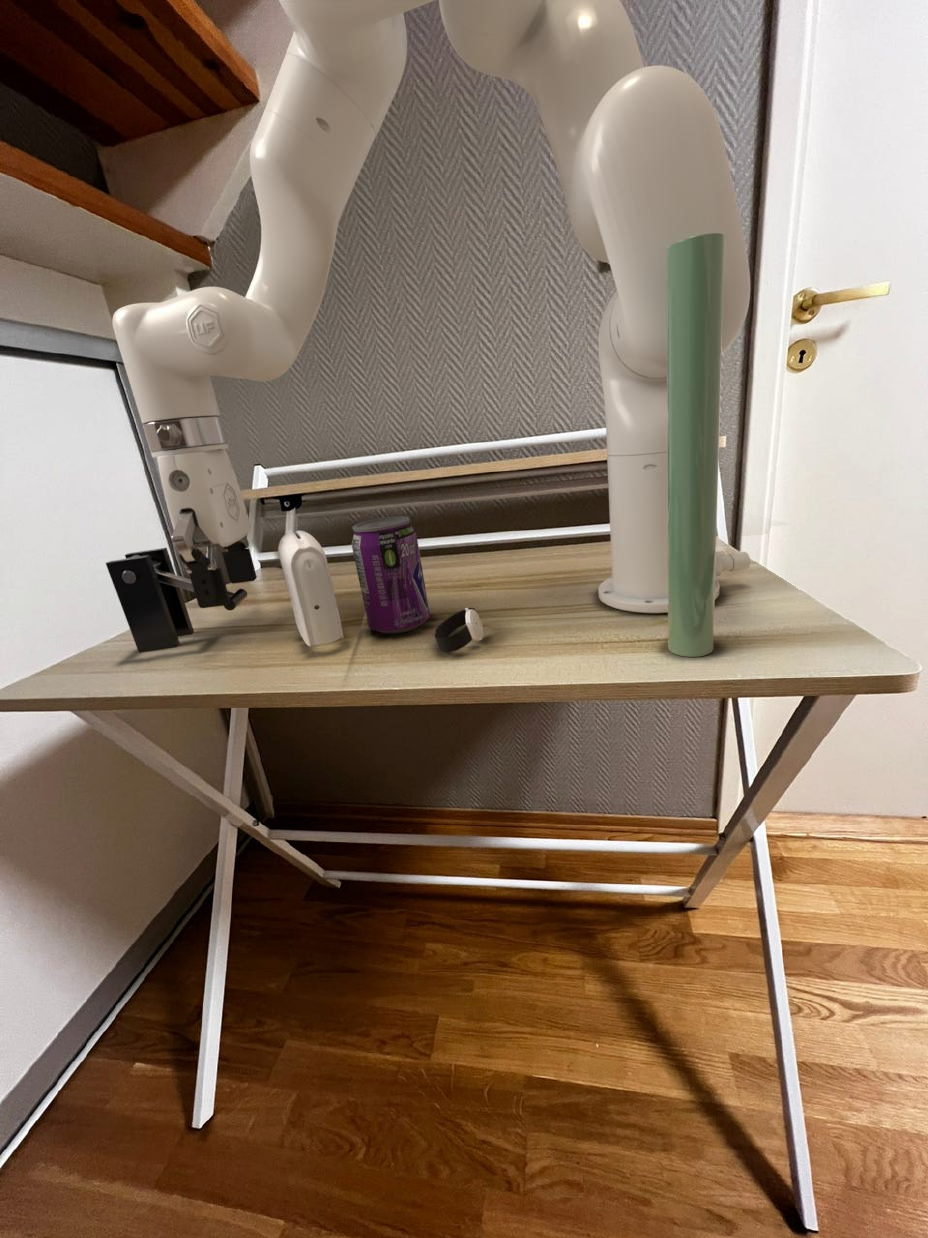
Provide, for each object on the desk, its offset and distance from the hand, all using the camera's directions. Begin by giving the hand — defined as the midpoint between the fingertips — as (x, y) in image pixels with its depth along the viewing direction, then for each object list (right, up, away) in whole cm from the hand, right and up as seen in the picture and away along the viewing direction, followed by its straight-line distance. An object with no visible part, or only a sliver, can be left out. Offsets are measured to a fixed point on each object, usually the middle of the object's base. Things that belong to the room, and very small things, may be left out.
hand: (230, 592), depth 62 cm
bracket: (-8, -7, +2) cm, 11 cm away
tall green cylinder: (+47, -6, -16) cm, 50 cm away
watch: (+27, -6, -8) cm, 29 cm away
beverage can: (+20, -4, -1) cm, 20 cm away
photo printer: (+11, -6, -1) cm, 12 cm away
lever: (-5, 0, 0) cm, 5 cm away
